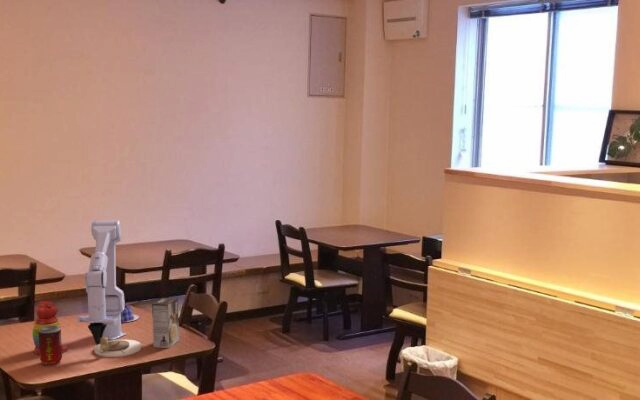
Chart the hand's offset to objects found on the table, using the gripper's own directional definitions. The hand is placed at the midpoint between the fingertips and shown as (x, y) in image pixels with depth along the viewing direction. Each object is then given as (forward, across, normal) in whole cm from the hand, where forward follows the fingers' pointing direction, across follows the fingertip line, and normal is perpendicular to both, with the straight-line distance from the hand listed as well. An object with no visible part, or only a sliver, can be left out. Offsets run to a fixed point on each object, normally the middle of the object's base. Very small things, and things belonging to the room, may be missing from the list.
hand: (98, 343), depth 263 cm
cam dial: (+3, +2, +5) cm, 6 cm away
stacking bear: (+5, -20, 0) cm, 21 cm away
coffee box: (+5, +16, +19) cm, 25 cm away
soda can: (+5, -11, -11) cm, 16 cm away
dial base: (+4, +2, +8) cm, 9 cm away
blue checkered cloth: (+5, -17, +43) cm, 46 cm away
